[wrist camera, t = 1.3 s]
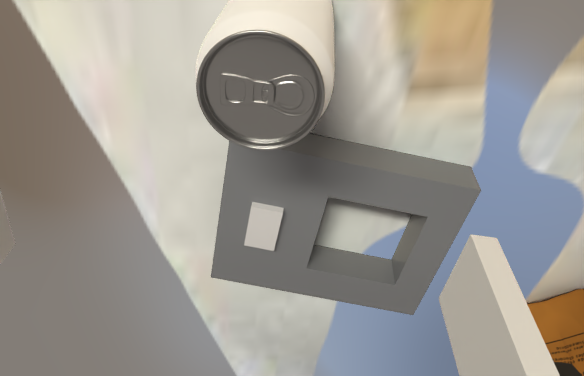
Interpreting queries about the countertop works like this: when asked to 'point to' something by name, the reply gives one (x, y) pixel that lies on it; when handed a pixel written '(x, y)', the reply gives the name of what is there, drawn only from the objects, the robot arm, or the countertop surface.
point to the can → (267, 70)
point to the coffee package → (562, 327)
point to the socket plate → (309, 210)
